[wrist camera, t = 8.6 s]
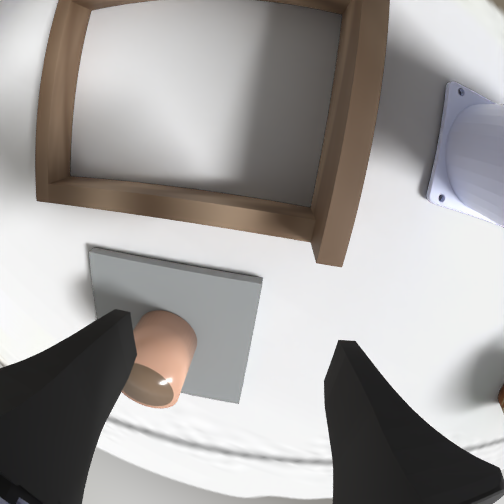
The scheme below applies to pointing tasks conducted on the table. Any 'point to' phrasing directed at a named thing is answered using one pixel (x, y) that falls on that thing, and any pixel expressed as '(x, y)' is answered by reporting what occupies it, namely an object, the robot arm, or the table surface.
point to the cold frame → (214, 203)
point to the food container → (501, 398)
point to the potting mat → (186, 312)
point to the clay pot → (160, 359)
